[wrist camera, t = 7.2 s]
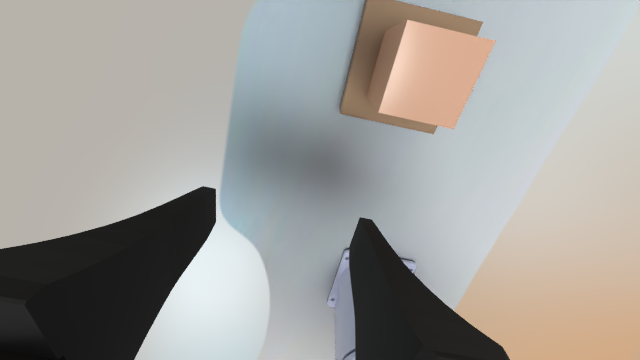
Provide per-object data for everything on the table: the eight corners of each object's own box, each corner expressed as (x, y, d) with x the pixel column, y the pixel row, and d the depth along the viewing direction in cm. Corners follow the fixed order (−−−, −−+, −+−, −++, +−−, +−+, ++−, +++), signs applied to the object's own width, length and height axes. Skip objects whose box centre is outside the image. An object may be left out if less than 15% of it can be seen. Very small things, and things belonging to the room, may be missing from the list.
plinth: (424, 126, 19) (433, 134, 17) (339, 108, 19) (340, 113, 17) (466, 25, 16) (483, 22, 14) (365, 1, 16) (369, -6, 14)
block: (421, 109, 17) (453, 129, 12) (366, 97, 16) (378, 112, 12) (447, 45, 15) (495, 40, 10) (385, 30, 15) (407, 19, 10)
